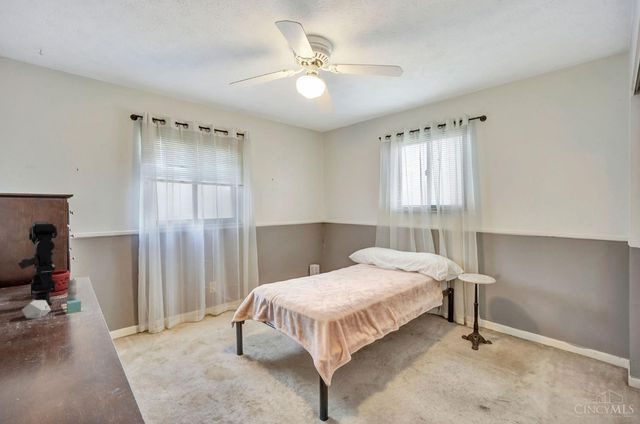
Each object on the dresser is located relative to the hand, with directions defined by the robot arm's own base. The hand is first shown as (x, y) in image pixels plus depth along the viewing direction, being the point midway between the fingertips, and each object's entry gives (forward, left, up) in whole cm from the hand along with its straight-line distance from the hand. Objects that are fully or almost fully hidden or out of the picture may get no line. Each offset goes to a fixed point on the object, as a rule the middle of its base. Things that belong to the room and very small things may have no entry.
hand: (44, 284), depth 134 cm
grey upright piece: (+6, +9, -13) cm, 17 cm away
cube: (+12, +9, -12) cm, 19 cm away
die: (+8, -3, -13) cm, 16 cm away
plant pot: (-35, +6, -13) cm, 38 cm away
